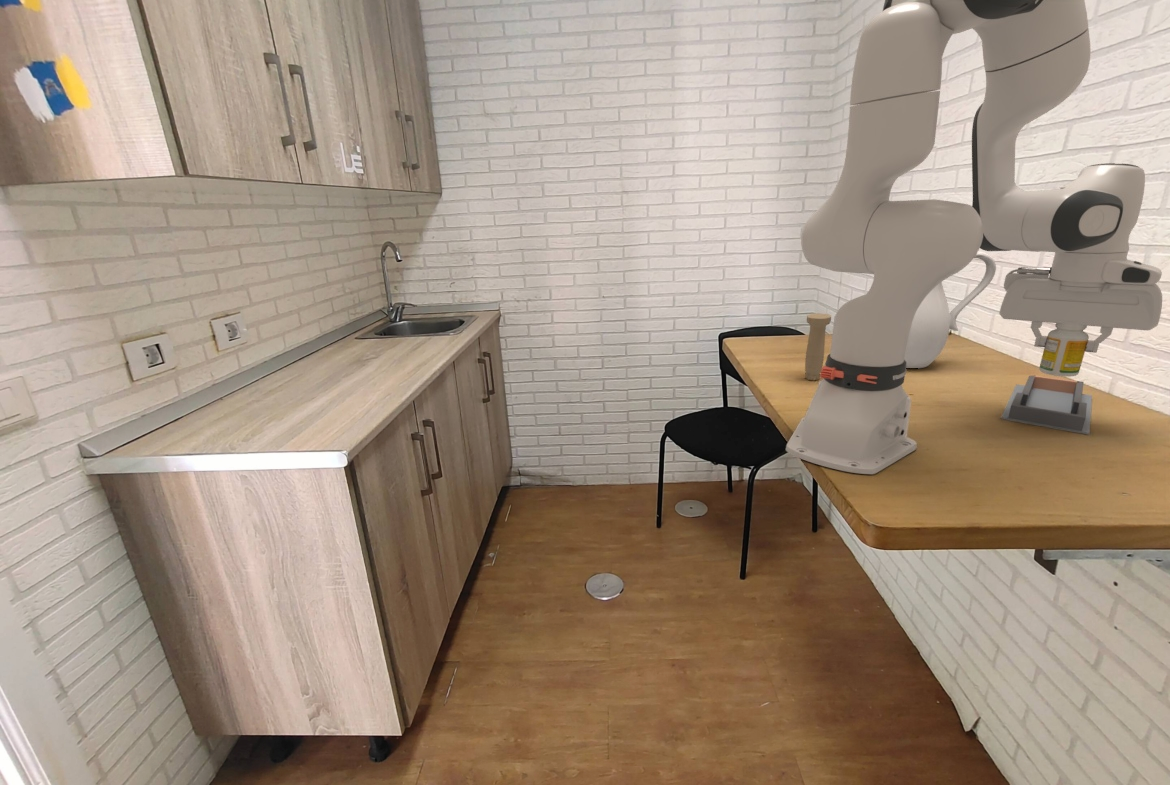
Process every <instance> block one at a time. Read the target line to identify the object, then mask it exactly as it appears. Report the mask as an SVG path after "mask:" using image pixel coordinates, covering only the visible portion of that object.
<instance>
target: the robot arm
mask: <svg viewBox="0 0 1170 785" xmlns="http://www.w3.org/2000/svg"><path fill="white" fill-rule="evenodd" d="M1086 6H1087V5H1086V2H1085V0H884V3H883V7H882V10H881V12H879V13H877V14H876V15H875V16H874V17H873V18H871V19H870V20H869V21H868V23H867V24H866V26H865V27H864V29H863V31H861V32H862V33H861V35H860V38H859V42H858V46H857V51H856V55H855V61H854V66H853V73H852V78H851V88H850V98H849V117H848V132H847V144H846V151H845V153H846V154H845V158H844V163H843V164H844V165H843V167H842V171H841V174H840V177H839V179H838V181H837V184H836V185H835V187H834V190H833V191H832V193H831V194H830V196H829V197H828V198H827V200H826V201H825V202H824V203H823V204H822V206H820V207H819V208H818V209H817V210H816V211H814V212H813V213H812V214H811V215H810V217H809V218H808V219H807V221H806V222H805V225H804V227H803V229H802V232H801V242H800V244H801V251H802V253H803V256H804V257H805V259H806V261H807V262H808V263H809V264H810V265H813V266H815V267H818V268H822V269H826V270H828V271H829V270H830V271H832V272H838V273H850V274H853V273H855V274H866V275H867V274H869V275H873V280H872V283H871V286H870V287H869V290H868V291H867V292H866V293H865V294H863V295H860V296H857V297H855V298H853V299H851V300H849V301H847V302H845V303H844V304H843V305H842V306H840V307H839V308H838V310H837V311H836V313H835V315H834V318H833V326H832V333H831V334H832V335H831V344H830V351H829V352H830V353H829V354H828V355H827V356H826V360H825V362H824V365H823V366H822V370H821V373H820V374H821V376H820V379H821V380H820V381H818V385H817V387H816V390H815V393H814V395H813V397H812V398H811V401H810V404H809V406H808V408H807V410H806V413H805V416H803V417H802V418H801V419H800V420H799V423H798V425H797V426H796V427H795V429H794V431H793V433H792V435H791V437H790V438H789V440H788V441H787V443H786V445H785V451H786V452H787V453H789V454H790V455H792V456H794V457H796V458H798V459H801V460H803V461H805V462H809V463H812V464H816V465H819V466H822V467H826V468H829V469H834V470H838V471H841V472H847V473H852V474H853V473H854V474H862V475H876V474H877V473H879V472H881V471H882V470H884V469H886V468H887V467H889V466H891V465H893V464H894V463H896V462H897V461H899V460H901V459H902V458H904V457H905V456H907V455H909V454H911V453H913V452H914V451H916V450H917V445H918V442H917V441H916V440H914V439H913V438H910V437H909V436H908V430H909V423H910V422H909V421H910V415H911V414H910V413H911V405H912V399H911V397H910V396H909V395H908V394H907V392H906V391H905V389H904V387H903V384H904V382H905V379H906V378H905V377H906V374H907V369H906V361H905V360H904V357H905V352H906V347H907V342H908V337H909V333H910V329H911V325H912V321H913V318H914V316H915V313H916V311H917V309H918V307H919V306H920V304H921V303H922V301H923V300H924V299H925V297H926V296H927V295H928V294H929V293H930V292H931V290H933V289H934V288H935V287H936V286H937V285H938V284H940V283H941V282H944V281H945V280H947V279H948V278H950V277H951V276H954V275H956V274H957V273H959V272H960V271H962V270H963V269H965V268H966V267H967V266H969V264H970V263H971V262H972V261H973V260H974V259H975V258H974V257H975V256H976V254H977V252H978V251H980V250H982V251H985V252H1010V251H1017V252H1018V251H1020V252H1033V253H1034V252H1036V253H1038V252H1039V253H1040V252H1041V253H1043V252H1044V253H1045V252H1046V253H1054V257H1053V259H1052V264H1051V267H1025V266H1021V267H1018V268H1017V269H1013V270H1011V271H1009V272H1008V273H1007V274H1006V275H1005V277H1004V278H1005V279H1004V281H1003V289H1004V290H1005V292H1006V293H1005V294H1004V297H1003V300H1002V301H1001V302H1002V303H1001V305H1000V309H999V316H1000V317H1001V318H1002V319H1004V320H1013V321H1014V320H1015V321H1024V322H1025V321H1026V322H1031V325H1030V329H1031V330H1032V333H1033V335H1034V337H1035V340H1034V345H1033V346H1034V347H1038V348H1045V344H1046V340H1047V336H1048V335H1042V333H1041V331H1040V329H1041V328H1042V325H1043V323H1049V324H1050V323H1051V324H1056V323H1060V324H1061V323H1064V322H1078V323H1079V324H1080V325H1085V326H1087V327H1098V328H1099V327H1100V330H1099V331H1100V332H1099V333H1100V335H1099V336H1097V338H1095V339H1094V340H1092V339H1088V342H1087V346H1086V349H1085V353H1097V352H1098V350H1099V346H1100V344H1101V343H1102V342H1104V341H1105V340H1106V339H1108V337H1110V336H1111V335H1112V334H1113V333H1112V332H1113V329H1122V330H1123V329H1124V330H1134V331H1135V330H1137V331H1151V330H1153V329H1155V328H1156V327H1157V326H1158V325H1159V322H1160V319H1161V314H1162V307H1163V293H1162V290H1161V288H1160V287H1159V285H1158V284H1157V283H1159V282H1160V280H1161V278H1162V275H1163V272H1162V270H1161V269H1160V268H1158V267H1156V266H1154V265H1150V264H1145V263H1142V262H1140V261H1136V260H1130V259H1128V253H1129V250H1130V245H1129V243H1130V242H1129V239H1130V236H1131V232H1132V231H1133V229H1134V228H1135V226H1136V224H1137V223H1138V220H1139V215H1140V212H1141V209H1142V208H1141V207H1142V204H1143V199H1144V195H1145V194H1144V193H1145V186H1146V175H1145V170H1144V169H1143V168H1142V167H1140V166H1138V165H1136V164H1131V163H1130V164H1129V163H1116V162H1113V163H1112V162H1109V163H1098V164H1091V165H1087V166H1085V167H1083V168H1082V169H1081V171H1080V172H1079V174H1078V176H1077V177H1076V178H1075V179H1074V180H1072V181H1070V182H1069V183H1067V184H1065V185H1063V186H1059V188H1052V189H1044V190H1043V189H1041V190H1024V189H1021V188H1020V187H1019V186H1018V185H1017V184H1016V182H1015V176H1016V175H1015V174H1016V142H1017V138H1018V135H1019V133H1020V132H1021V131H1022V130H1023V128H1024V127H1025V126H1026V125H1028V124H1029V123H1031V122H1033V121H1034V120H1036V119H1038V118H1040V117H1042V116H1043V115H1045V114H1047V113H1048V112H1050V111H1052V110H1053V109H1055V108H1056V107H1057V106H1059V105H1060V104H1062V103H1063V102H1064V101H1066V100H1067V99H1068V98H1069V97H1070V96H1071V95H1072V94H1073V93H1074V92H1075V91H1076V89H1077V88H1078V87H1079V85H1080V84H1082V81H1083V80H1084V79H1085V77H1086V74H1087V73H1088V70H1089V67H1090V60H1091V38H1090V30H1089V29H1090V28H1089V22H1088V20H1089V19H1088V12H1087V7H1086ZM969 30H973V31H975V32H976V34H977V35H978V36H979V37H980V40H981V42H982V43H981V44H982V45H981V46H982V47H981V48H982V56H983V64H984V65H983V66H984V71H985V72H984V73H985V81H986V82H985V85H986V86H985V94H984V99H983V101H982V103H981V104H980V106H978V108H977V110H976V112H975V113H974V117H973V121H972V128H971V176H972V177H971V178H972V179H971V180H972V182H971V183H972V204H967V203H961V202H957V201H949V200H943V199H942V200H940V199H935V198H934V199H911V200H890V196H891V192H892V188H893V185H894V184H895V183H896V181H897V179H898V178H900V177H902V176H903V175H905V174H907V173H908V172H910V171H911V170H913V169H915V168H916V167H918V166H920V164H922V163H923V162H924V161H925V160H926V159H927V158H928V156H929V155H930V154H931V152H932V150H933V149H934V146H935V143H936V142H935V141H936V135H937V134H936V132H937V123H938V114H939V106H940V105H939V104H940V94H941V88H942V87H941V86H942V74H943V72H942V69H943V55H944V53H945V50H946V47H947V44H948V43H949V41H950V39H951V37H952V36H953V34H954V35H955V34H960V33H964V32H966V31H969Z"/></svg>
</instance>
